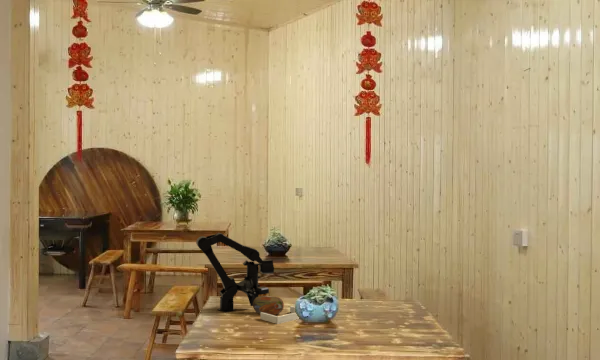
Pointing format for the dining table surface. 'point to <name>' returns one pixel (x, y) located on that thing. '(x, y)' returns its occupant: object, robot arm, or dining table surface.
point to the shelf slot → (280, 317)
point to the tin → (268, 305)
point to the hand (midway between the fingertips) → (251, 305)
